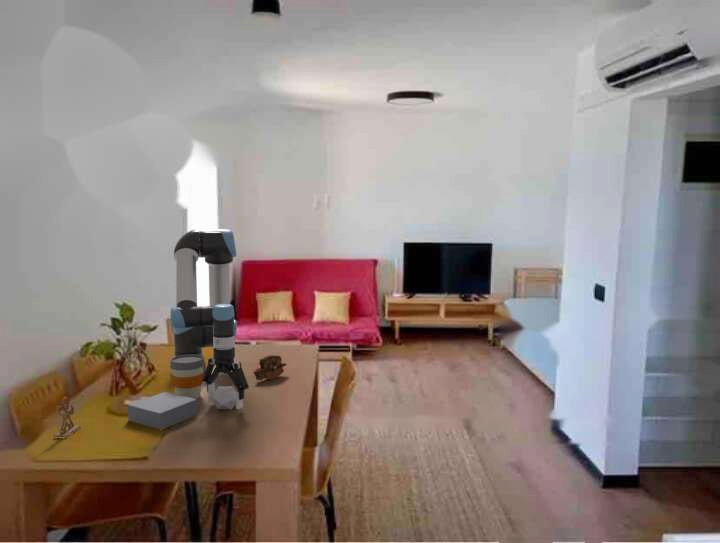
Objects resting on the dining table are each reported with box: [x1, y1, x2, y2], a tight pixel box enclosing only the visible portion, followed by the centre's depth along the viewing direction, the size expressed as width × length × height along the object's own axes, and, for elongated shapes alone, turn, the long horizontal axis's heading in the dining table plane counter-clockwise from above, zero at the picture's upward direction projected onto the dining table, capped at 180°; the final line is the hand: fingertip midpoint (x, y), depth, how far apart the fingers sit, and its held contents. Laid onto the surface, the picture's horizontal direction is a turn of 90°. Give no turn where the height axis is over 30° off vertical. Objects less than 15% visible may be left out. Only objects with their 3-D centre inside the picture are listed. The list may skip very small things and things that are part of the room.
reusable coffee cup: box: [169, 355, 205, 399], centre depth 219 cm, size 13×13×15 cm
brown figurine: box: [53, 396, 81, 438], centre depth 184 cm, size 9×4×12 cm, turn 176°
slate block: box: [127, 391, 198, 430], centre depth 198 cm, size 16×16×6 cm
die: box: [213, 385, 236, 410], centre depth 207 cm, size 8×9×10 cm
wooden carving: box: [253, 354, 287, 381], centre depth 242 cm, size 16×5×10 cm, turn 143°
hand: (225, 404), depth 208 cm, fingers open, 13 cm apart
